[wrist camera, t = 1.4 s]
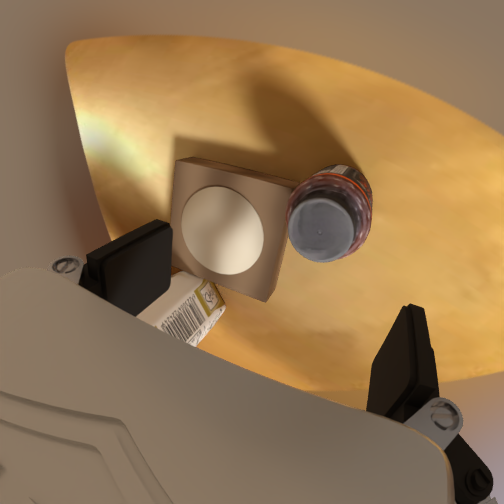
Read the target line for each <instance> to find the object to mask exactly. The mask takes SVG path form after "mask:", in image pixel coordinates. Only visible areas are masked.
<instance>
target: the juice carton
mask: <svg viewBox="0 0 504 504" xmlns="http://www.w3.org/2000/svg"><path fill="white" fill-rule="evenodd" d="M225 308H226V306H225V304H224V302H223V300H222V298H221V296H220V294H219V292H218V291H217V289H216V287H215V285H214V283H213V282H211V281H208V280H206V279H203V278H201V277H198V276H196V275H193V274H191V273H188V272H186V271H181V272H178V273H176V274H174V275H172V276H171V284H170V287H169V289H168V290H167V291H166V292H165V293H164V294H163V295H162V296H160V297H159V298H158V299H157V300H156V301H154V302H153V303H152V304H151V305H149V306H148V307H147V308H146V309H145V310H143V311H142V312H141V313H140V314H139V315H137V316H136V318H138V319H140V320H142V321H144V322H146V323H148V324H150V325H152V326H154V327H156V328H158V329H159V330H161V331H163V332H165V333H167V334H169V335H171V336H174V337H176V338H178V339H180V340H182V341H184V342H186V343H188V344H190V345H192V346H194V347H196V346H197V345H198V343H199V342H200V341H201V340H202V339H203V338H204V336H205V335H206V334H207V333H208V332H209V331H210V329H211V328H212V327H213V326H214V325H215V323H216V322H217V320H218V319H219V318H220V316H221V315H222V313H223V312H224V310H225Z"/></svg>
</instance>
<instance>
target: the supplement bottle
mask: <svg viewBox="0 0 504 504" xmlns="http://www.w3.org/2000/svg"><path fill="white" fill-rule="evenodd" d="M372 201H373V200H372V191H371V188H370V185H369V183H368V181H367V180H366V178H365V177H364V176H363V175H362V174H361V173H360V172H359V171H358V170H356V169H355V168H352V167H350V166H347V165H331V166H328V167H326V168H324V169H322V170H320V171H319V172H317V173H316V174H314V175H313V176H311V177H309V178H308V179H306V180H305V181H303V182H302V183H301V184H300V185H298V186H297V187H296V189H295V190H294V191H293V192H292V194H291V196H290V198H289V200H288V202H287V206H286V212H285V219H286V225H287V229H288V234H289V239H290V241H291V243H292V245H293V247H294V248H295V249H296V251H297V252H299V253H300V254H301V255H302V256H303V257H305V258H307V259H309V260H312V261H315V262H331V261H334V260H336V259H341V258H344V257H347V256H349V255H351V254H352V253H354V252H355V251H356V250H358V249H359V248H360V247H361V246H362V245H363V243H364V242H365V240H366V238H367V236H368V234H369V231H370V227H371V220H372Z"/></svg>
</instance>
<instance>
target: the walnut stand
mask: <svg viewBox="0 0 504 504" xmlns="http://www.w3.org/2000/svg"><path fill="white" fill-rule="evenodd" d="M298 185H300V183H298V182H294V181H291V180H287V179H283V178H280V177H276V176H272V175H268V174H264V173H260V172H256V171H252V170H248V169H244V168H240V167H236V166H231V165H227V164H223V163H218V162H214V161H209V160H204V159H200V158H195V157H189V158H184V159H180V160H176V163H175V173H174V184H173V196H172V210H171V228H172V229H173V241H172V262H171V266H174V267H176V268H178V269H181V270H183V271H186V272H188V273H191V274H193V275H196V276H198V277H201V278H203V279H206V280H208V281H211V282H213V283H216V284H218V285H221V286H223V287H226V288H229V289H231V290H234V291H236V292H239V293H241V294H244V295H247V296H249V297H252V298H255V299H257V300H260V301H263V302H265V303H266V302H267V300H268V299H269V297H270V296H271V294H272V293H273V291H274V290H275V288H276V284H277V280H278V276H279V271H280V267H281V263H282V259H283V255H284V251H285V247H286V243H287V238H288V229H287V225H286V219H285V212H286V206H287V202H288V200H289V198H290V196H291V194H292V192H293V191H294V190H295V189H296V187H297V186H298Z"/></svg>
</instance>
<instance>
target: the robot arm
mask: <svg viewBox="0 0 504 504" xmlns="http://www.w3.org/2000/svg"><path fill="white" fill-rule="evenodd" d="M172 241H173V229H172V228H171V226H170V224H169V223H167V222H164V221H161V220H158V219H156V220H154V221H152V222H150V223H148V224H146V225H143V226H141V227H139V228H137V229H135V230H133V231H131V232H129V233H127V234H125V235H123V236H121V237H119V238H117V239H115V240H113V241H112V242H110V243H108V244H106V245H104V246H102V247H100V248H98V249H96V250H94V251H92V252H91V253H89V254H87V255H86V256H87V263H86V264H84V263H83V261H82V259H80V258H79V257H76V256H63V257H59V258H57V259H55V260H53V261H52V262H51V263H50V264H49V266H48V268H47V270H44V269H39V268H31V267H24V268H19V269H17V270H14V271H12V272H10V273H8V274H5V275H4V276H2V277H0V504H498V503H497V501H496V498H495V497H494V498H492V499H491V498H490V493H491V491H492V488H493V477H492V474H491V472H490V470H489V469H488V467H487V466H486V465H485V464H484V463H483V461H482V460H481V459H480V458H479V457H478V456H477V454H476V453H475V452H474V451H473V450H472V449H471V448H470V447H469V445H468V444H467V443H466V442H465V441H464V439H463V438H462V437H461V436H460V435H459V434H458V433H459V432H460V430H461V428H462V426H463V417H462V414H461V412H460V409H459V408H458V407H457V406H456V405H455V404H454V403H453V402H452V401H450V400H448V399H446V398H441V397H439V387H438V378H437V370H436V363H435V356H434V351H433V348H432V347H431V344H430V338H429V332H428V326H427V321H426V316H425V311H424V308H422V307H419V306H416V305H413V304H409V305H408V306H403V307H402V309H401V310H400V312H399V314H398V316H397V318H396V320H395V322H394V324H393V326H392V328H391V330H390V332H389V334H388V335H387V337H386V339H385V341H384V343H383V344H382V346H381V348H380V350H379V352H378V353H377V355H376V357H375V359H374V361H373V363H372V367H371V377H370V385H369V394H368V401H367V408H366V411H364V410H361V409H358V408H355V407H352V406H349V405H346V404H343V403H339V402H336V401H333V400H330V399H327V398H323V397H321V396H318V395H314V394H311V393H309V392H306V391H303V390H300V389H297V388H294V387H292V386H289V385H286V384H284V383H281V382H278V381H276V380H273V379H270V378H268V377H265V376H263V375H260V374H257V373H255V372H252V371H250V370H247V369H245V368H243V367H240V366H238V365H235V364H233V363H231V362H228V361H226V360H223V359H221V358H219V357H217V356H214V355H212V354H210V353H208V352H205V351H203V350H201V349H199V348H197V347H194V346H192V345H190V344H188V343H186V342H184V341H182V340H180V339H178V338H176V337H174V336H171V335H169V334H167V333H165V332H163V331H161V330H159V329H158V328H156V327H154V326H152V325H150V324H148V323H146V322H144V321H142V320H140V319H138V318H136V316H137V315H139V314H140V313H141V312H142V311H143V310H145V309H146V308H147V307H148V306H149V305H151V304H152V303H153V302H154V301H156V300H157V299H158V298H159V297H160V296H162V295H163V294H164V293H165V292H166V291H167V290H168V289H169V287H170V284H171V262H172Z"/></svg>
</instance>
